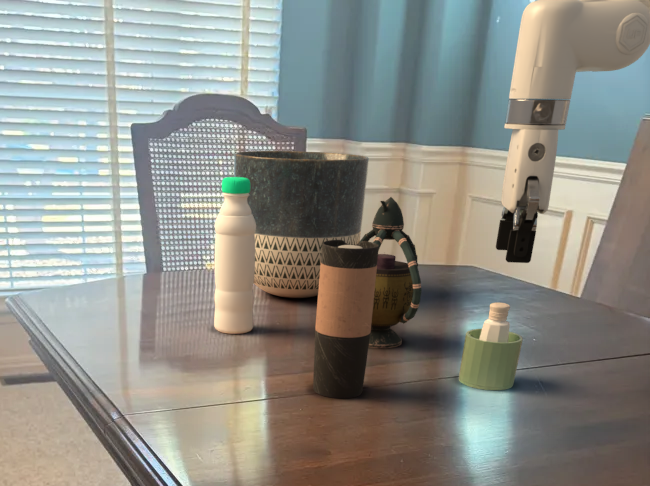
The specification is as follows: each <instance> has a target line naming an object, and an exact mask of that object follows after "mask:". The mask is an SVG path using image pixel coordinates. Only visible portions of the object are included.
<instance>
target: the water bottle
mask: <svg viewBox="0 0 650 486" xmlns="http://www.w3.org/2000/svg"><path fill="white" fill-rule="evenodd" d="M221 192H222V196H223V198H224V199H223V203H222V205H221V206H220V209H219V213H218V215H217V216H216V218H215V221H214V230H215V237H214V238H215V241H214V282H215V289H214V296H213V297H214V300H213V301H214V315H213V318H214V319H213V326H214V329H215V330H216V331H218V332H220V333H223V334H229V335H241V334H247V333H249V332H251V331H252V330H253V328H254V310H253V309H254V305H255V291H254V285H255V284H254V273H255V235H254V233H255V231H256V222H255V220H254V217H253V215H252V214H251V209H250V207H249V205H248V202H247V198H248V196H249V193H250V180H249V179H247V178H243V177H234V176H228V177H223V178H222V181H221Z"/></svg>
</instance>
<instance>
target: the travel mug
mask: <svg viewBox="0 0 650 486" xmlns="http://www.w3.org/2000/svg"><path fill="white" fill-rule="evenodd" d="M378 250H379V251H380V248H379V246H378V244H376V243H373V241H368V242H367V241H362V242H360V243H359V244H356V245H351V244H347V243H345V241H343V240H329V241H325V242H323V244H322V252H321V265H320V277H319V290H318V296H317V302H316V303H317V304H316V314H315V315H316V317H315V328H314V329H315V331H314V350H313V351H314V352H313V353H314V354H313V356H314V357H313V377H312V378H313V379H312V387H313V388H312V390H313V391H314V393H316V394H318V395H319V396H321V397H325V398H330V399H331V398H332V399H353V398H356V397H359V396H360V395H361V394H362V393H363V389H364V382H365V375H366V368H367V362H368V361H367V360H368V355H369V348H370V347H369V340H370V332H371V323H372V312H373V302H374V291H375V281H376V271H377V260H378V254H379V251H378Z"/></svg>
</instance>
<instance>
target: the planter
mask: <svg viewBox="0 0 650 486" xmlns="http://www.w3.org/2000/svg"><path fill="white" fill-rule="evenodd" d="M233 156H234V157H233V177H243V178H247V179H249V180H250V193H249V196H248V198H247V202H248V205H249V207H250V209H251V214H252V215H253V217H254V220H255V222H256V231H255V233H254V235H255V273H254V284H253V285H255V286H256V287H257V288H259V289H260V290H262V291H263V292H266V293H267V294H269V295H272V296H276V297H279V298H280V297H281V298H287V299H305V298H306V299H307V298H313V297H318V290H319V277H320V265H321V252H322V244H323V242H325V241H329V240H343V241H345V243H347V244H351V245H356V244H357V243H359V242H360V240H361V233H362V225H363V218H364V209H365V208H364V207H365V197H366V190H367V181H368V172H369V157H368V156H364V155H359V154H350V153H337V152H321V151H298V150H297V151H293V150H249V151H248V150H247V151H238V152H235V153H234V155H233Z"/></svg>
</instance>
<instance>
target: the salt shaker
mask: <svg viewBox="0 0 650 486" xmlns="http://www.w3.org/2000/svg"><path fill="white" fill-rule="evenodd" d="M510 309H511V305H510V304H508V303H505V302H499V301H497V302H492V303H490V304H489V313H488V318H487V319H485V320H484V321H483V324H482V328H481V329H482V331H481V335H480V338H479V339H480V340H484V341H490V342H508V338H509V332H510V326H511V325H510V321H507V320H508V315H509V311H510Z"/></svg>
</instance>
